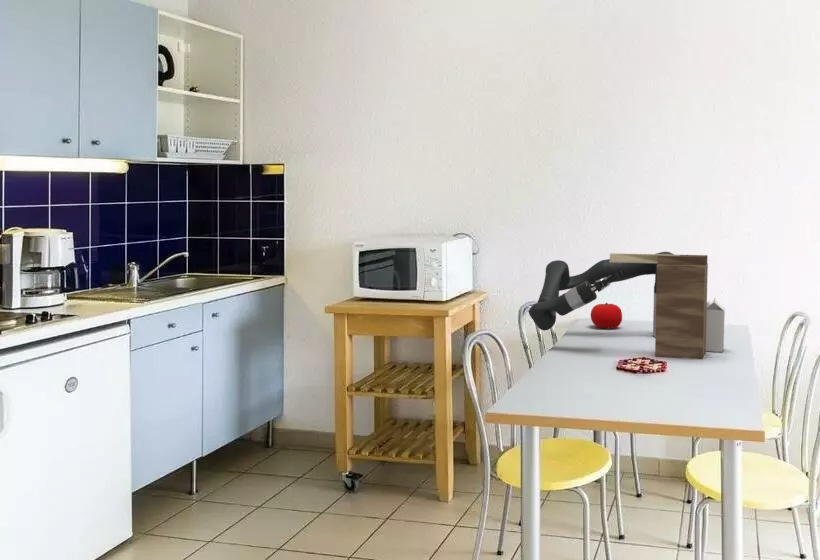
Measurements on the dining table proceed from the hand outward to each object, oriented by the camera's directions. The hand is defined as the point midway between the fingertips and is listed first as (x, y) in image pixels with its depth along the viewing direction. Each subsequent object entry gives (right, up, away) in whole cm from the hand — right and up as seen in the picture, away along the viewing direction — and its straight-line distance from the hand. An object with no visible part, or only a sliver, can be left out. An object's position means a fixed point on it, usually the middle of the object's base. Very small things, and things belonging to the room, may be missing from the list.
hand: (619, 274), depth 354 cm
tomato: (+7, -22, +59) cm, 64 cm away
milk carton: (+34, -28, +4) cm, 44 cm away
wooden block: (+8, +4, -3) cm, 10 cm away
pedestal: (+20, -28, -5) cm, 35 cm away
